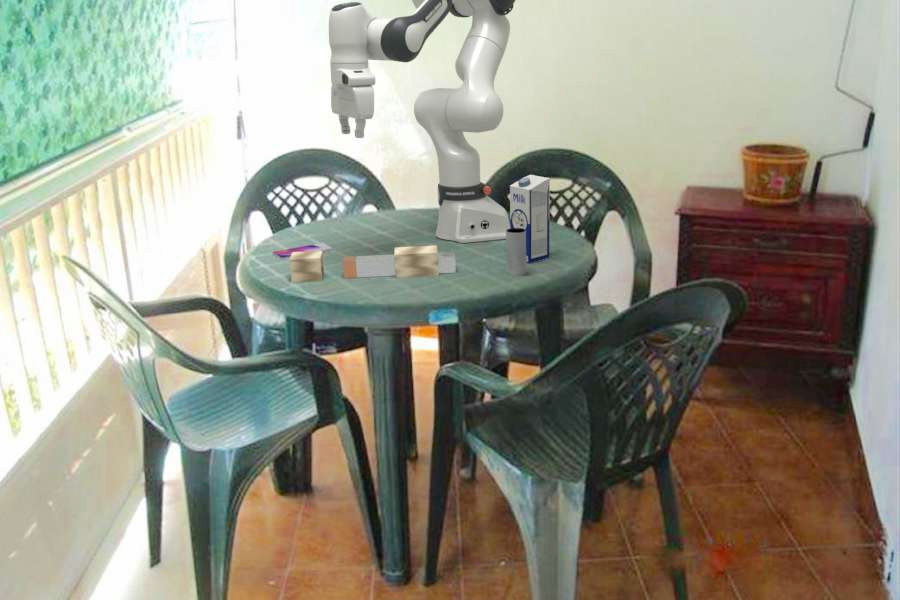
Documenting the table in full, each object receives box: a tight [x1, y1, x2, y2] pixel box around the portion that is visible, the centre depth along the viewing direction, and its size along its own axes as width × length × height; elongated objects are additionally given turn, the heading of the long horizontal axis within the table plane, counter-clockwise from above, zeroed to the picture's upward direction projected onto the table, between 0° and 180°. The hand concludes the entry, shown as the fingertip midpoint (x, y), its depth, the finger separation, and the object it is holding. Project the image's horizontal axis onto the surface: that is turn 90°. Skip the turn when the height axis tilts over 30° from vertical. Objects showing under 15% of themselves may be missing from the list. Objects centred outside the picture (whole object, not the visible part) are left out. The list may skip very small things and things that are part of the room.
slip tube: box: [342, 251, 457, 279], centre depth 197 cm, size 26×4×4 cm, turn 94°
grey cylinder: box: [505, 228, 527, 276], centre depth 194 cm, size 4×4×10 cm
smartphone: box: [272, 242, 336, 260], centre depth 219 cm, size 7×1×15 cm
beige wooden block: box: [288, 251, 325, 283], centre depth 196 cm, size 7×6×6 cm
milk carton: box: [509, 174, 551, 264], centre depth 204 cm, size 7×7×20 cm
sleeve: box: [393, 245, 440, 278], centre depth 197 cm, size 10×6×6 cm, turn 94°
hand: (352, 135), depth 201 cm, fingers open, 8 cm apart
